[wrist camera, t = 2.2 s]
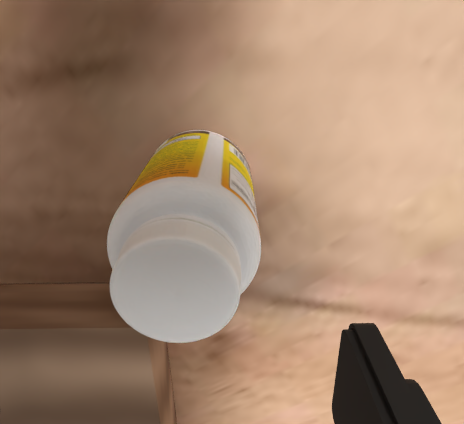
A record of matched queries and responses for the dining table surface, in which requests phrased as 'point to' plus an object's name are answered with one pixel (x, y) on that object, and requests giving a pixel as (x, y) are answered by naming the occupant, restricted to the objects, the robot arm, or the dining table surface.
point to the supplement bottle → (185, 239)
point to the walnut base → (78, 360)
